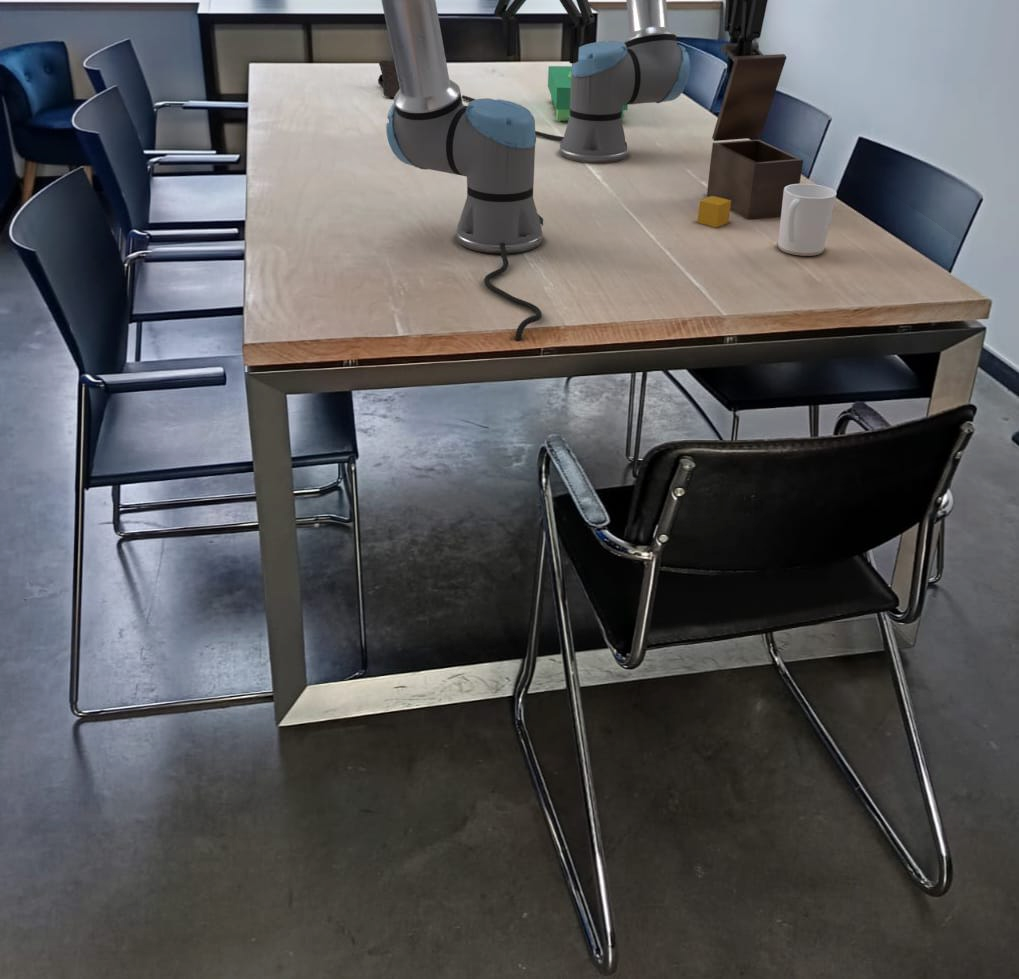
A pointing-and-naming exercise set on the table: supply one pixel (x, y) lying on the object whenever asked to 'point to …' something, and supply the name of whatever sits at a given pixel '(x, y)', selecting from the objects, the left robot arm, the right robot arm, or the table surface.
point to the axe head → (388, 78)
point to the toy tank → (562, 91)
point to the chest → (752, 176)
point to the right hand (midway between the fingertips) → (736, 73)
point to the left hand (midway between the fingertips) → (542, 59)
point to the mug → (805, 218)
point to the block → (714, 211)
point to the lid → (748, 93)
